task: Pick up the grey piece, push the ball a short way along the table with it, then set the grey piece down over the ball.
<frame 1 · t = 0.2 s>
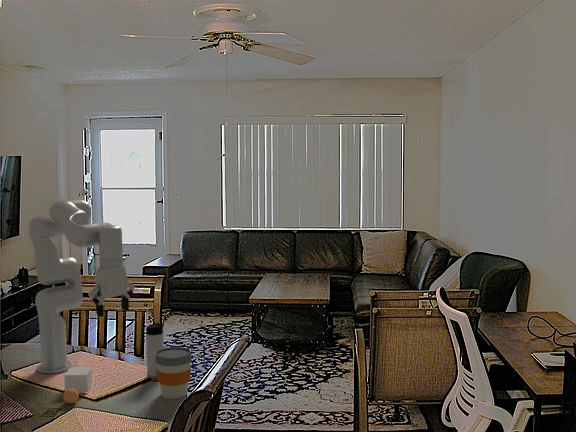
hand: (112, 313, 224), 31 cm above the table, tool pointing down, fingers open, 9 cm apart
ball: (71, 396, 225), on the table
grey piece: (78, 389, 237), on the table
reusable coffee cup: (174, 394, 233), on the table
travel mug: (156, 376, 250), on the table
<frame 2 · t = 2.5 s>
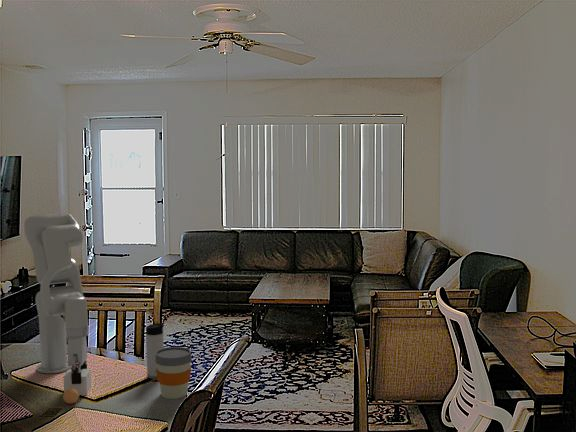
hand: (79, 379, 235), 4 cm above the table, tool pointing down, fingers open, 9 cm apart
grey piece: (77, 391, 235), on the table
everything else where it was.
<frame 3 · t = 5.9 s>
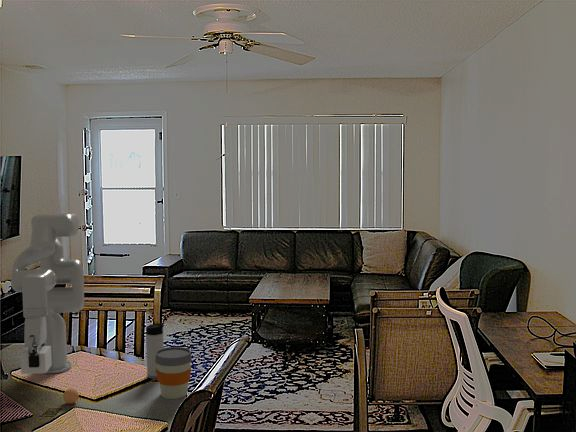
hand: (37, 362, 222), 15 cm above the table, tool pointing down, fingers closed on grey piece, 7 cm apart
grey piece: (36, 369, 223), point 12 cm above the table, touching gripper
everything else where it was.
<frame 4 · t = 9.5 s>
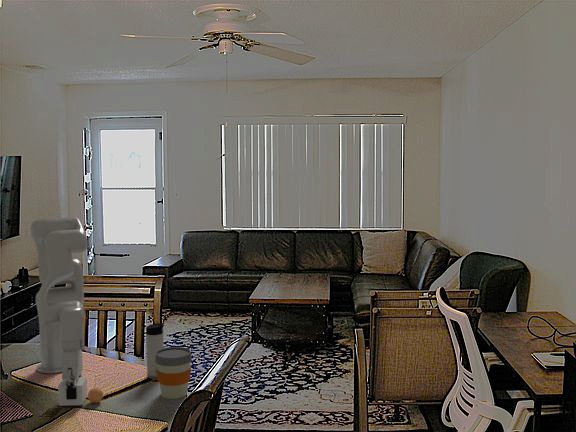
hand: (74, 393, 225), 3 cm above the table, tool pointing down, fingers closed on grey piece, 7 cm apart
ball: (95, 395, 226), on the table
grey piece: (73, 400, 225), point 1 cm above the table, touching gripper
everything else where it was.
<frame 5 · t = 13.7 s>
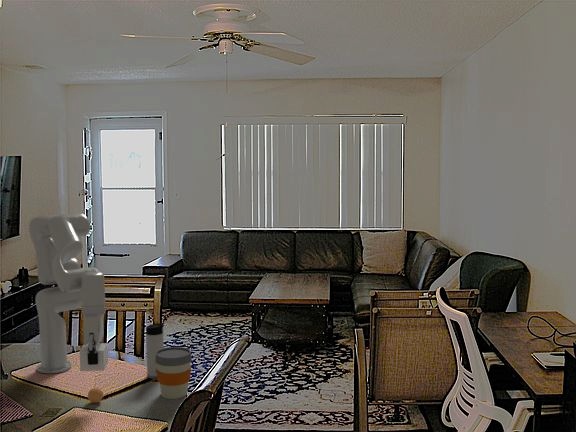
hand: (95, 359, 224), 15 cm above the table, tool pointing down, fingers closed on grey piece, 7 cm apart
grey piece: (94, 366, 225), point 12 cm above the table, touching gripper
everything else where it was.
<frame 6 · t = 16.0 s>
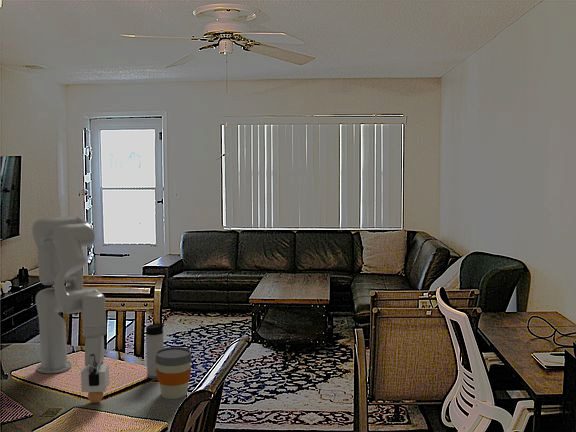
hand: (96, 380, 225), 8 cm above the table, tool pointing down, fingers closed on grey piece, 7 cm apart
grey piece: (95, 387, 225), point 5 cm above the table, touching gripper
everything else where it was.
when the fingers open (2 cm above the table, at t = 17.6 s): grey piece stays where it is, on the table.
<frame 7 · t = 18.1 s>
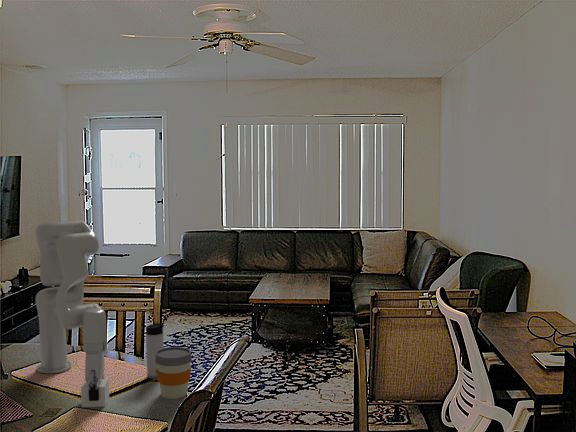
hand: (96, 394, 226), 3 cm above the table, tool pointing down, fingers open, 9 cm apart
grey piece: (95, 402, 226), on the table
everything else where it was.
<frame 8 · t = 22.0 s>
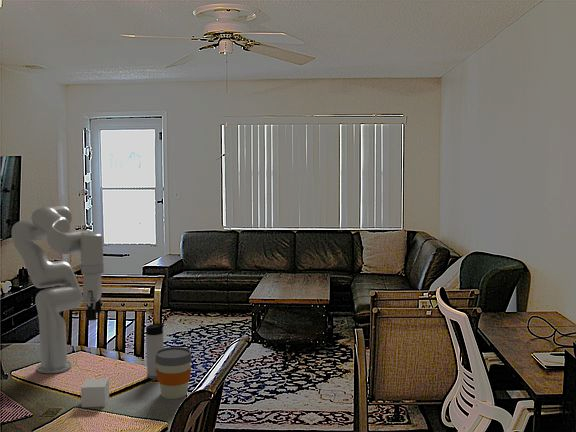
hand: (94, 316, 235), 26 cm above the table, tool pointing down, fingers open, 9 cm apart
nothing on the table moved.
at the end: ball 0.1 cm from the grey piece (horizontally); grey piece on the table; ball moved 8.1 cm from its start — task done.
